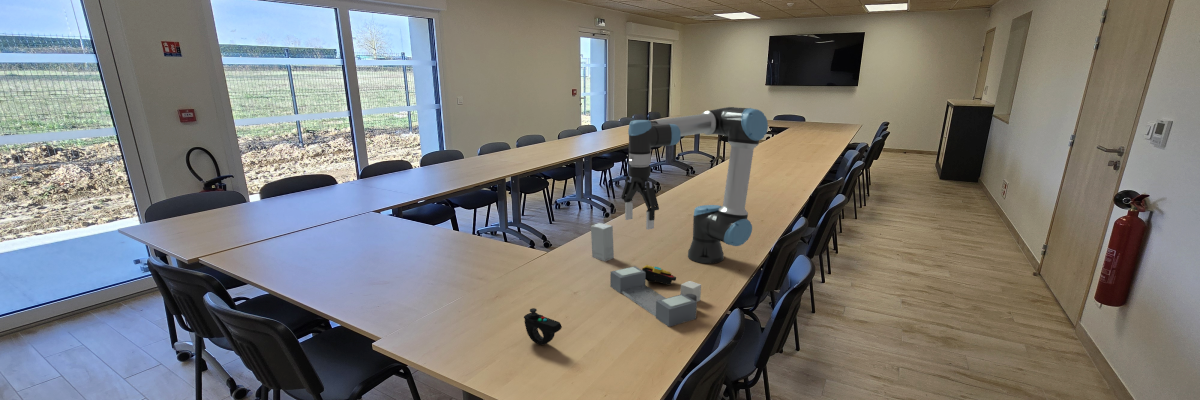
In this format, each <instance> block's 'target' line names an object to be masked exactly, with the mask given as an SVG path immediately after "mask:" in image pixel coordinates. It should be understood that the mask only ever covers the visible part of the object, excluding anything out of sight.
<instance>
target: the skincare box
mask: <svg viewBox="0 0 1200 400" xmlns="http://www.w3.org/2000/svg"><path fill="white" fill-rule="evenodd" d="M613 231H614V230H613V225H610V224H607V223H602V222H598V223H596V224H592V225H591V226H590V235H591V236H590V237H591V238H590V239H591V256H592V257H591V258H593V259H597V260H600V261H601V262H602V261H603V262H607V261H610V260H613V259H614V257H615V253H614V252H615V251H614V232H613Z"/></svg>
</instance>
